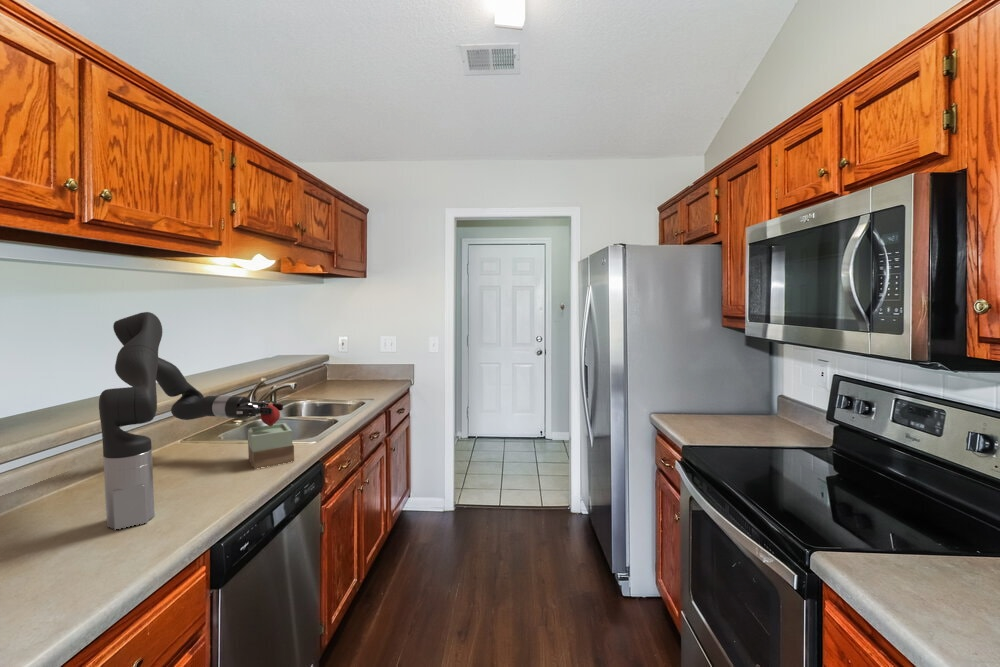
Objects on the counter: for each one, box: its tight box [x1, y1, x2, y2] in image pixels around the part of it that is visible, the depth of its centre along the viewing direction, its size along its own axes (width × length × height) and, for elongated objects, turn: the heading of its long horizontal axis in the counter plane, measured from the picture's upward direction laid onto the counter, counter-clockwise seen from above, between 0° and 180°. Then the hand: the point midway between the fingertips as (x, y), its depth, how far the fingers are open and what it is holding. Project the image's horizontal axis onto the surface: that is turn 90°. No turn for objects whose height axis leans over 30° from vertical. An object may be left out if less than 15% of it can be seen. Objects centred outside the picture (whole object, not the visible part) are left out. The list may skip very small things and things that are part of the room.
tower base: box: [247, 443, 295, 470], centre depth 155 cm, size 12×12×6 cm
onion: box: [260, 403, 281, 426], centre depth 154 cm, size 6×6×8 cm
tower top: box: [246, 422, 293, 452], centre depth 155 cm, size 12×12×5 cm
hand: (277, 409), depth 154 cm, fingers closed on onion, 5 cm apart
